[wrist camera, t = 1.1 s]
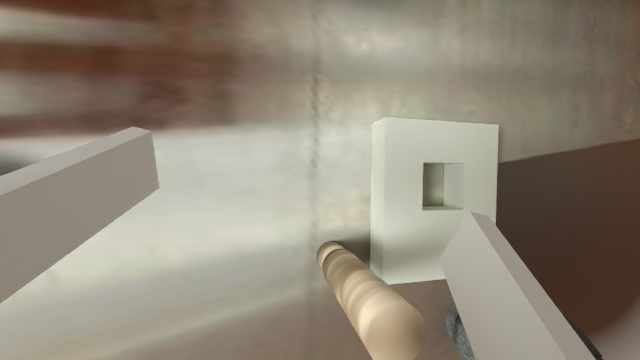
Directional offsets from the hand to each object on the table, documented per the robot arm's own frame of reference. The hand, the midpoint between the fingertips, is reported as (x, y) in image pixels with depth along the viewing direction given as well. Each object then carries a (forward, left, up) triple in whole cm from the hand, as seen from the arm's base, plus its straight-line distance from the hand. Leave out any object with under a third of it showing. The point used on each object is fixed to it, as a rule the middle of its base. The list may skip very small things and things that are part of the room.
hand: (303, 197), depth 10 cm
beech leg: (+11, +8, -23) cm, 27 cm away
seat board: (+3, +23, -23) cm, 33 cm away
